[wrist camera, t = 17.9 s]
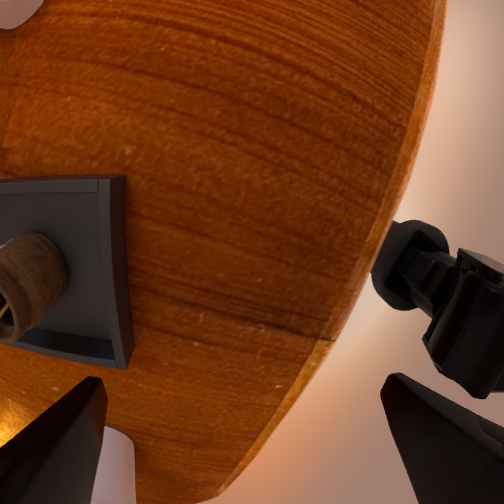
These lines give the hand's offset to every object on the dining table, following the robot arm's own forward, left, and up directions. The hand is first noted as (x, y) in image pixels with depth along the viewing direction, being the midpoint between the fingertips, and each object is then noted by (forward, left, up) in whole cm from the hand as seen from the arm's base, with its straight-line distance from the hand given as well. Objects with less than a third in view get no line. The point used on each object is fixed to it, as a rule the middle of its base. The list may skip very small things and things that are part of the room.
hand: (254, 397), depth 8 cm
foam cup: (+2, +28, -13) cm, 31 cm away
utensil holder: (+13, +8, -13) cm, 20 cm away
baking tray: (+13, +8, -13) cm, 20 cm away
